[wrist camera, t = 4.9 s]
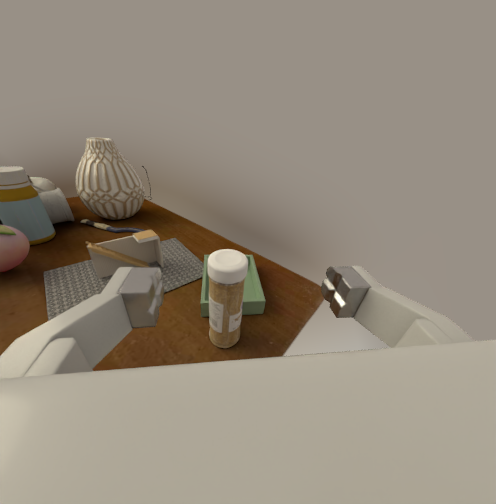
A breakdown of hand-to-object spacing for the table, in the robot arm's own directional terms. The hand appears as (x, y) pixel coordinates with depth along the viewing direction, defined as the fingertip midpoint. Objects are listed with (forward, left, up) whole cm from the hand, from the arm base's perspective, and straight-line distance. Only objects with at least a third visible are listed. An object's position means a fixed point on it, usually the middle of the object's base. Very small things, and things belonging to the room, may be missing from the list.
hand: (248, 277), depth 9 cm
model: (+27, +17, -20) cm, 37 cm away
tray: (+22, -1, -20) cm, 30 cm away
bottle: (+40, +42, -20) cm, 61 cm away
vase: (+55, +30, -20) cm, 66 cm away
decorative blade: (+48, +25, -20) cm, 58 cm away
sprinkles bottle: (+12, 0, -20) cm, 23 cm away
